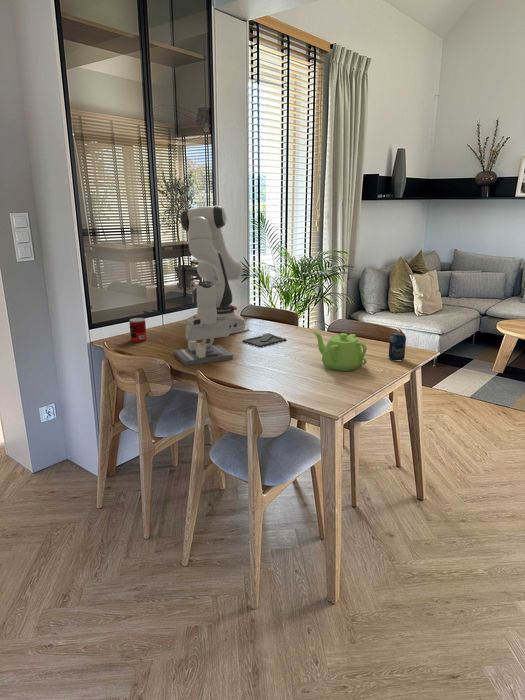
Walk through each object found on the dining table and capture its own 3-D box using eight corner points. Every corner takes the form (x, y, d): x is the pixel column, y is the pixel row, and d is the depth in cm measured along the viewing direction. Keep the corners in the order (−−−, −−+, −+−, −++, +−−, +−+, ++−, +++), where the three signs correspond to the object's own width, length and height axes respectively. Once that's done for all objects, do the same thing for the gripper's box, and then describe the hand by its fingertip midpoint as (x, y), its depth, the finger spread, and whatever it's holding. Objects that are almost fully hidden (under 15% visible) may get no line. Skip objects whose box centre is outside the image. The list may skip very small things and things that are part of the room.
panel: (219, 348, 235) (218, 344, 235) (232, 359, 220) (232, 354, 219) (174, 354, 227) (174, 350, 226) (185, 365, 211) (185, 360, 210)
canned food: (148, 338, 254) (147, 317, 251) (143, 342, 246) (141, 321, 243) (134, 338, 255) (132, 317, 251) (128, 342, 247) (127, 321, 244)
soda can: (392, 362, 215) (394, 336, 211) (385, 357, 221) (387, 332, 218) (407, 361, 216) (409, 335, 213) (399, 356, 223) (401, 331, 219)
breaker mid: (203, 350, 225) (202, 341, 223) (206, 352, 221) (205, 344, 220) (197, 351, 223) (196, 342, 222) (199, 353, 220) (199, 344, 219)
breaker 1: (194, 347, 229) (194, 339, 228) (197, 350, 225) (196, 341, 224) (188, 348, 228) (188, 340, 226) (190, 350, 224) (190, 342, 223)
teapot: (370, 371, 203) (372, 338, 199) (324, 375, 199) (326, 341, 195) (354, 358, 221) (355, 327, 216) (311, 361, 217) (312, 329, 213)
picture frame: (268, 336, 258) (242, 343, 247) (268, 333, 258) (242, 339, 246) (286, 341, 249) (259, 348, 237) (286, 338, 248) (259, 344, 237)
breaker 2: (202, 354, 218) (202, 346, 217) (205, 357, 215) (205, 348, 214) (196, 355, 217) (195, 347, 216) (198, 358, 214) (198, 349, 213)
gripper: (226, 314, 226) (227, 343, 230) (183, 319, 218) (185, 348, 222) (231, 317, 220) (232, 346, 224) (187, 322, 212) (189, 352, 216)
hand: (208, 347), depth 223 cm, fingers closed
